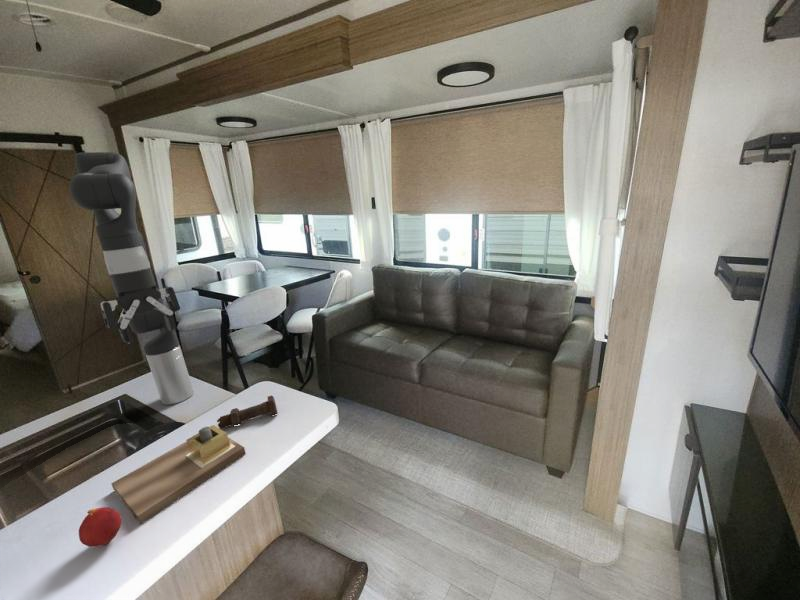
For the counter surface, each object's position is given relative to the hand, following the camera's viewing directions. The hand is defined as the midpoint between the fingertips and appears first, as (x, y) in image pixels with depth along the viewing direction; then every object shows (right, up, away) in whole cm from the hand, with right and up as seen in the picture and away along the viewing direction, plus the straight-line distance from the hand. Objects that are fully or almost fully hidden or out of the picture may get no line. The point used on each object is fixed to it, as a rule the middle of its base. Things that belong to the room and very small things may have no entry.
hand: (151, 336), depth 82 cm
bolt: (+16, -25, +16) cm, 34 cm away
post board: (+8, -31, -2) cm, 32 cm away
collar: (+13, -27, +1) cm, 30 cm away
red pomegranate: (+4, -36, -18) cm, 41 cm away
